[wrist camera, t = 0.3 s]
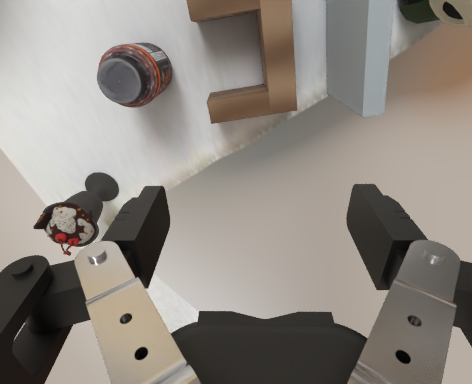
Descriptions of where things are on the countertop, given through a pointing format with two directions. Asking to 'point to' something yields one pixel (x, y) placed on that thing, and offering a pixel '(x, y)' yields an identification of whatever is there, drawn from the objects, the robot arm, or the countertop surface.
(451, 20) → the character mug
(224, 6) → the walnut u-shaped holder
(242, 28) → the countertop surface
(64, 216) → the sundae
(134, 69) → the supplement bottle
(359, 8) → the board
